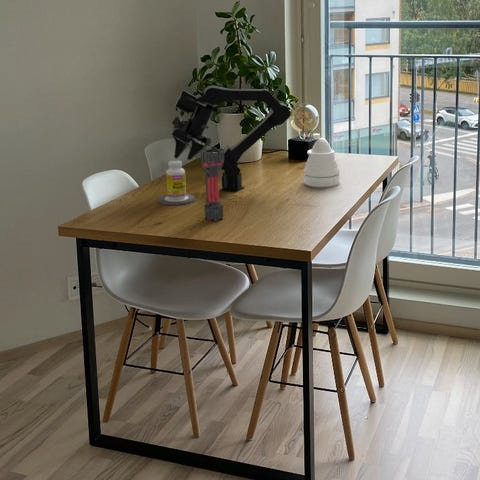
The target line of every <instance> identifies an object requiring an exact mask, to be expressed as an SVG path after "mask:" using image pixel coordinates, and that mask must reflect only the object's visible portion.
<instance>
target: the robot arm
mask: <svg viewBox="0 0 480 480" xmlns="http://www.w3.org/2000/svg"><path fill="white" fill-rule="evenodd" d="M230 101H233V102H234V101H240V102H241V101H242V102H243V101H246V102H247V101H249V102H250V101H251V102H252V101H253V102H254V101H255V102H256V101H258V102H259V101H261V102H264V103H265V104H266V105H267V106H268V108H269V109H270V110H269V111H268V113H267V115H266V116H265V118H264V119H263V120H262V121H261V122H259V123H258V124H257V125H256V126H255V127H254V128H253V129H251V131H249V132H248V133H247V134H246V135H245V136H243V138H241V139H240V141H238V142H236V144H235V145H232V146H231V147H230V144H226V146H225V147H224V148H222V149H223V150H224V162H223V165H222V168H221V170H222V171H223V172H222V173H221V174H222V176H221V188H220V191H225V192H232V193H233V192H239V191H241V190H242V189H244V188H245V186H244V185H243V181H242V179H243V178H242V177H243V176H242V172H241V167H240V164H239V163H238V162H239V160H240V158H241V157H242V156H243V154H244V153H245V152H247V151H248V150H249V149H250V148H251V147H252V146H253V145H255V144H256V143H257V142H258V141H259V140H260V139H261V138H263V137H264V136H265V135H266V134H267V133H268V132H270V130H272V129H273V128H275V127H277V126H280V125H281V124H283V123H284V122H286V121H288V119H289V118H290V116H291V110H290V108H289V107H288V106H287V105H286V104H285V103H284V102H280V101H279V100H277V98H276V97H275V96H274V95H273V94H272V93H271V92H270V90H269V89H267V88H260V89H258V88H250V89H249V88H227V87H224V86H223V87H222V86H219V85H218V86H217V85H208V86H206V88H205V89H204V91H202V92H200V93H199V94H197V95H194V94H192V93H189V92H188V91H186V89H185V90H184V89H182V91H181V93H180V95H179V96H178V97H177V100H176V102H175V104H174V108H175V109H178V110H180V111H182V112H183V113H186V114H188V115H189V114H192V113H193V116H192V117H189V118H188V119H187V120H183V119H182V117H179V116H175V117H174V118H173V121H172V122H171V124H172V125H173V130H172V133H171V136H172V138H173V139H174V141H175V148H174V155H173V156H174V159H179V158H180V156H181V155H182V154H183V153H184V151H185V150H186V149H187V148H188V147H189V145H190V144H189V143H191V147H190V150H189V152H188V155H187V160H189V161H191V160H192V159H193V158H194V157H195V156H197V155H198V154H199V153H201V151H202V149H204V148H206V149H207V148H208V147H210V146H211V143H212V139H211V137H209V136H207V135H206V134H204V132H205V130H206V129H207V130H208V129H209V127H210V126H209V125H208V124H209V121H210V119H211V118H212V115H213V113H215V114H219V113H220V112H219V111H220V110H219V109H218V105H217V104H221V103H225V102H230ZM197 105H198V106H197ZM194 111H195V112H194Z"/></svg>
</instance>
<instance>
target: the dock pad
mask: <svg viewBox="0 0 480 480" xmlns="http://www.w3.org/2000/svg"><path fill="white" fill-rule="evenodd" d="M195 201H196V196H195V195H193V194H189V193H186V197H185V198H184V199H180V200H171V199H168V197H167V194H165V195H162V196H159V197H158V198H157V203H158V204H160V205H163V206H172V207H174V206H185V205H189V204H192V203H194V202H195Z"/></svg>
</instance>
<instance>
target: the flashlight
mask: <svg viewBox="0 0 480 480" xmlns="http://www.w3.org/2000/svg"><path fill="white" fill-rule="evenodd" d="M223 149H224V148H223V147H220V148H217V147H215V146H213V147H210V148H208V149H207V148H204V149H202V151H201V152H200V162H201V166H202V170H203V171H204V174H205V190H206V191H205V193H206V196H205V197H206V203H205V204H204V217H205V219H206V220H207V221H209V222H210V221H215V222H218V221H220V220H223V219H224V205H223V204H222V202H221V201H220V200H221V199H220V186H219V173H220V171H221V170H222V169H221V168H222V165H223V162H224V150H223Z"/></svg>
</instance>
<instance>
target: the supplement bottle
mask: <svg viewBox="0 0 480 480" xmlns="http://www.w3.org/2000/svg"><path fill="white" fill-rule="evenodd" d="M167 166H168V169H166V171H165V177H166V178H165V179H166V181H165V182H166V195H167V197H168V199H171V200H180V199H184V198H185V197H186V194H187V187H186V186H187V185H186V181H187V180H186V170H185V169H184V168H183V167H182V166H183V162H182V160H170V161H168V165H167Z"/></svg>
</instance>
